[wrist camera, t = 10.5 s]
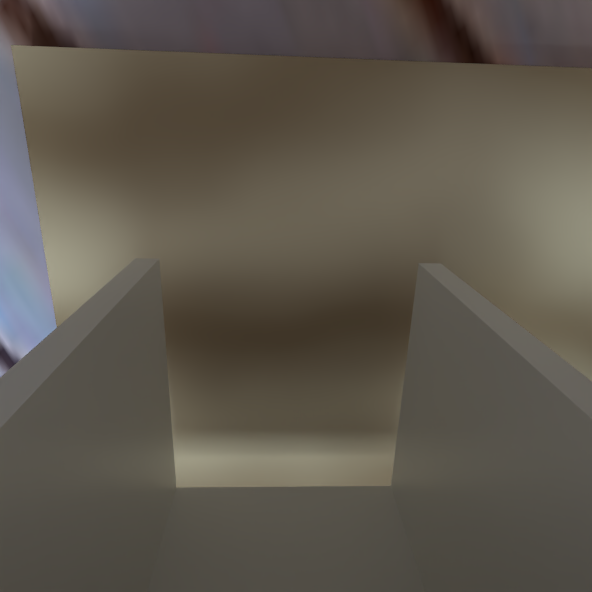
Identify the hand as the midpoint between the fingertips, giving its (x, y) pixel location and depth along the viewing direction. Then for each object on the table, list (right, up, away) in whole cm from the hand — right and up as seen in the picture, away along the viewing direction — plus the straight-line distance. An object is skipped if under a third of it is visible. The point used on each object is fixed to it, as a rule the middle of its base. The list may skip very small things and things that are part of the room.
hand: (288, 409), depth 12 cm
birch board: (+8, +2, +3) cm, 9 cm away
